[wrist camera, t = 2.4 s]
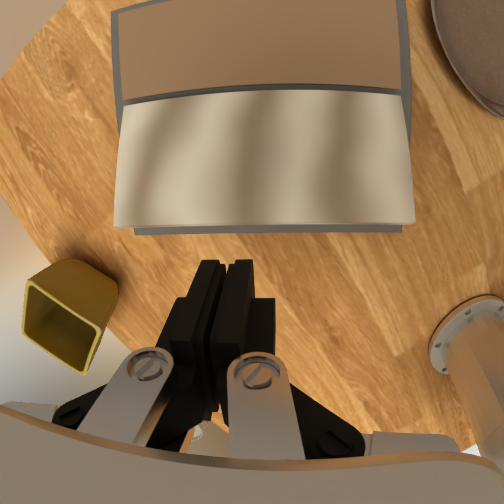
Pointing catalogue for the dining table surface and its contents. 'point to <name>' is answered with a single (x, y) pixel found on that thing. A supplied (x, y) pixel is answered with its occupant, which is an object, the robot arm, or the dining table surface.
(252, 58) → the floor section
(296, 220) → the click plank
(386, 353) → the dining table surface
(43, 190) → the dining table surface
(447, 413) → the dining table surface
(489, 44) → the plant saucer
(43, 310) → the flower pot
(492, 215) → the dining table surface
